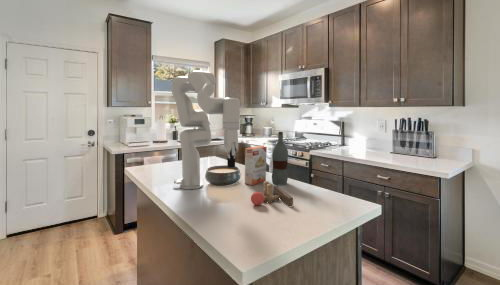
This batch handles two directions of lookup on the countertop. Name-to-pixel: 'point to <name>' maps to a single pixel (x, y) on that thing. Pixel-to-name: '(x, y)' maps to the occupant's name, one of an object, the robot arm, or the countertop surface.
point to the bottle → (280, 162)
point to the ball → (257, 198)
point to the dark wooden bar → (283, 195)
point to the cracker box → (255, 165)
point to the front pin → (272, 198)
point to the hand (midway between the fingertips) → (231, 167)
